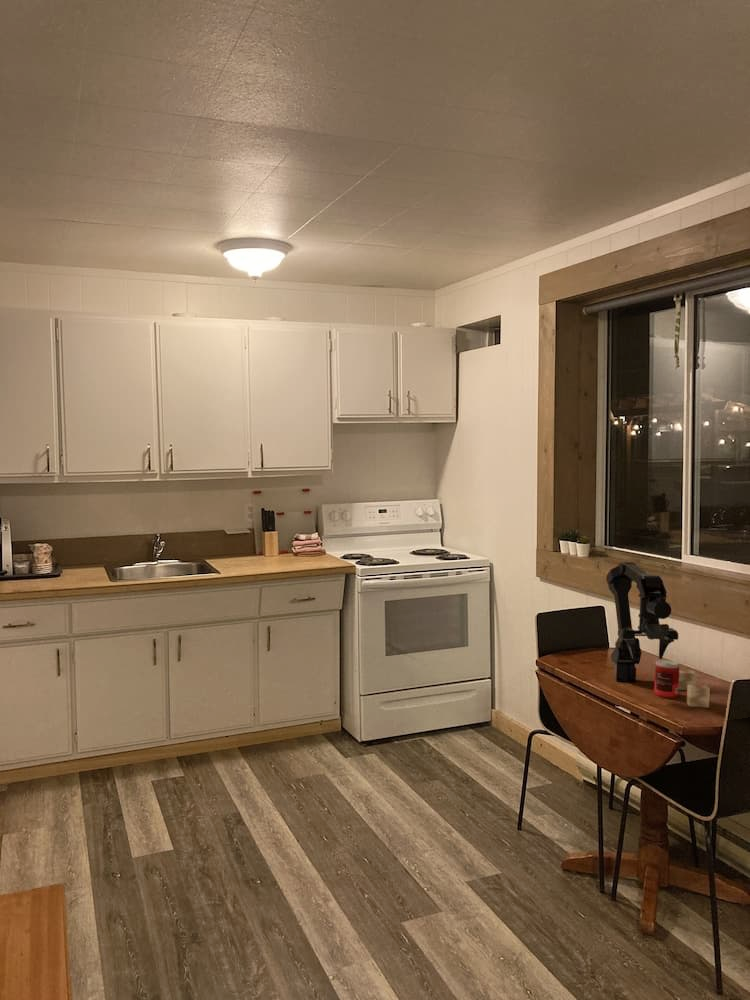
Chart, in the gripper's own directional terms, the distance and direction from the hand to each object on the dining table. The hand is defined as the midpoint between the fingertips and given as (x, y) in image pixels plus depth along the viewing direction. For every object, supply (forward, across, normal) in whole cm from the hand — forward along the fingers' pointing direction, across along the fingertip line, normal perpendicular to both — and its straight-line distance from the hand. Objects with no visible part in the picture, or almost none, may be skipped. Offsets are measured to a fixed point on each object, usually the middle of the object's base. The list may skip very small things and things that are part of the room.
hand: (646, 658), depth 281 cm
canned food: (+12, +7, 0) cm, 14 cm away
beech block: (+12, +13, -10) cm, 21 cm away
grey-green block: (+12, +16, +7) cm, 21 cm away
